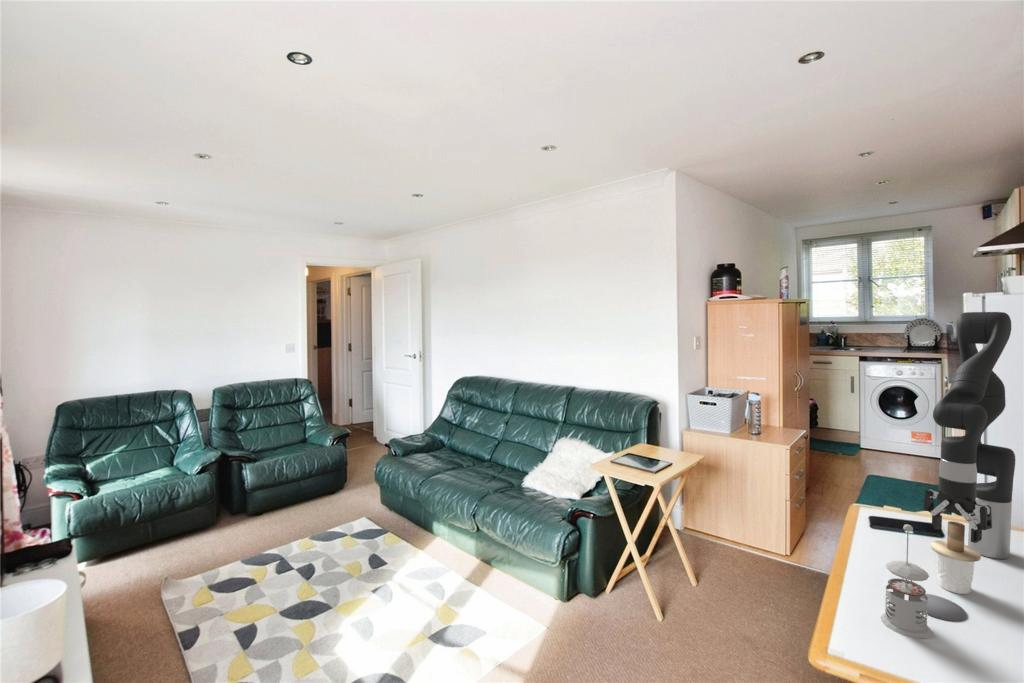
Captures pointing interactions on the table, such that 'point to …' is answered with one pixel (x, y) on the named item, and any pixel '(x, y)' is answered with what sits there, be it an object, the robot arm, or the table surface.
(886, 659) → the table surface
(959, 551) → the lid
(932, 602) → the mat
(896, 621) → the french press
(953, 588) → the white cup
